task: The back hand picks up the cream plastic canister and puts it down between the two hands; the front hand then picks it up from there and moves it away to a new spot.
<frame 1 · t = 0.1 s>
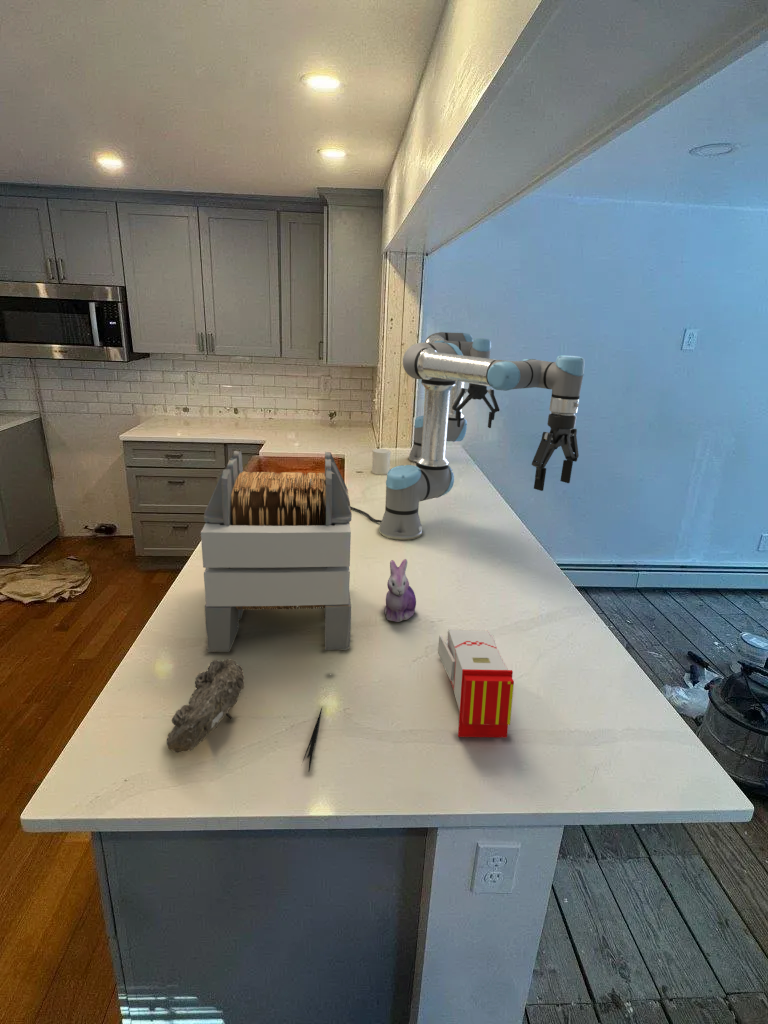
front hand: (552, 485, 166), 28 cm above the counter, tool pointing down, fingers open, 13 cm apart
back hand: (473, 427, 245), 28 cm above the counter, tool pointing down, fingers open, 13 cm apart
feather: (319, 719, 109), on the counter
canister: (380, 472, 274), on the counter
transformer: (283, 615, 144), on the counter
toy: (469, 691, 119), on the counter
figurine: (399, 614, 147), on the counter
fossil: (212, 717, 108), on the counter
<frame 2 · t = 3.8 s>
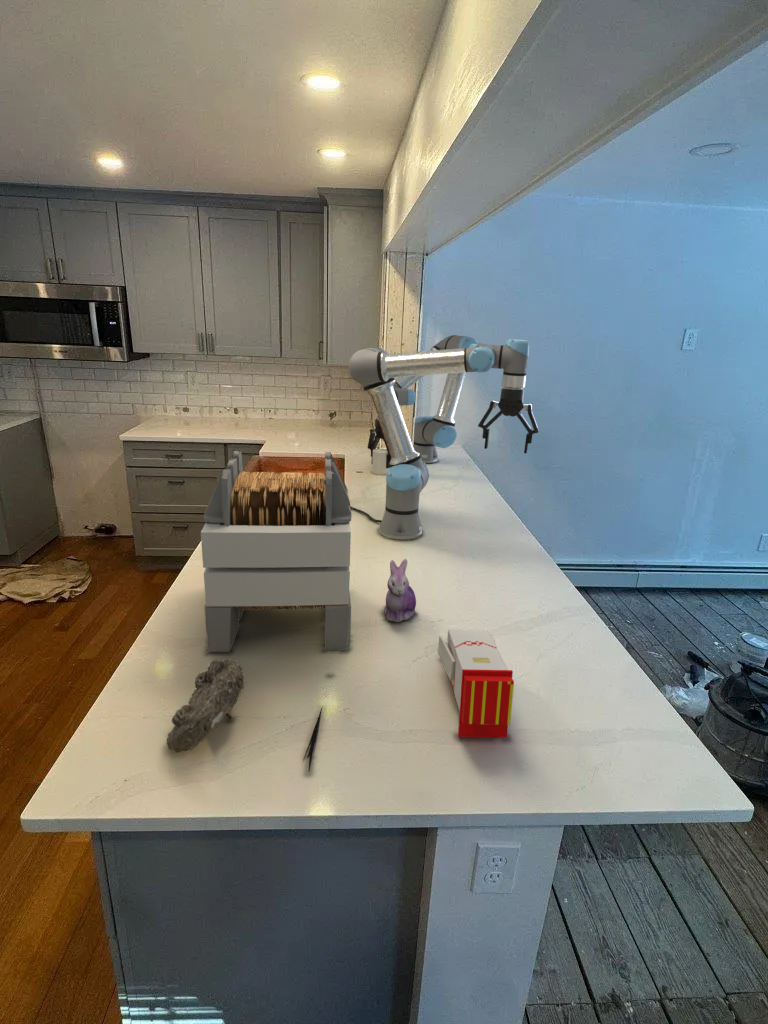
front hand: (505, 450, 196), 30 cm above the counter, tool pointing down, fingers open, 13 cm apart
back hand: (381, 465, 272), 3 cm above the counter, tool pointing down, fingers closed on canister, 8 cm apart
canister: (380, 472, 274), on the counter, touching back hand
everything else where it was.
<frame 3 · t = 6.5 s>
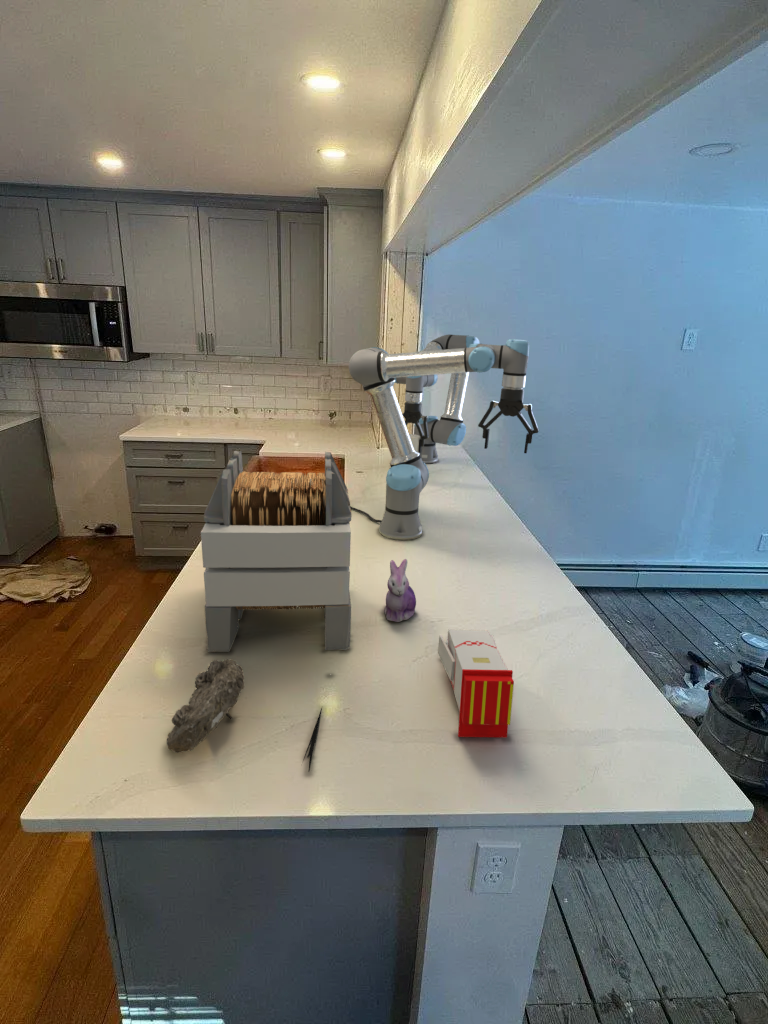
front hand: (505, 450, 196), 30 cm above the counter, tool pointing down, fingers open, 13 cm apart
back hand: (410, 452, 258), 14 cm above the counter, tool pointing down, fingers closed on canister, 8 cm apart
canister: (409, 459, 259), point 10 cm above the counter, touching back hand
everything else where it was.
when the back hand's fingers open (4 cm above the counter, at t = 9.5 s): canister drops 1 cm, on the counter.
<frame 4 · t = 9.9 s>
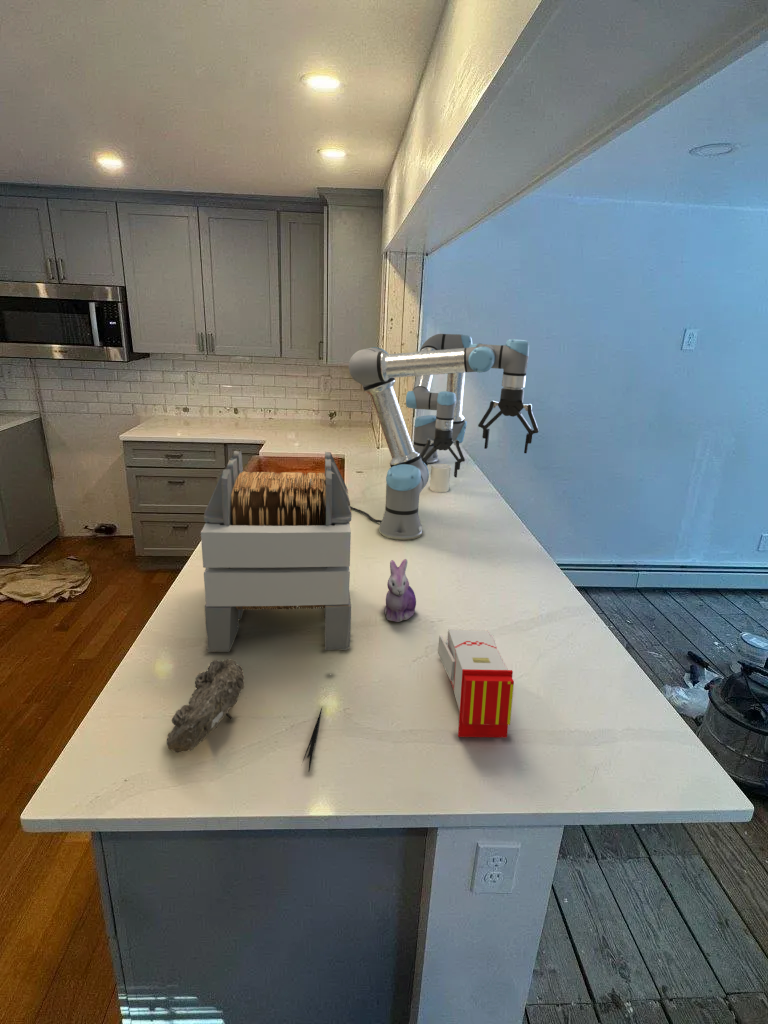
front hand: (505, 450, 196), 30 cm above the counter, tool pointing down, fingers open, 13 cm apart
back hand: (440, 476, 250), 6 cm above the counter, tool pointing down, fingers open, 13 cm apart
canister: (439, 489, 252), on the counter
everything else where it was.
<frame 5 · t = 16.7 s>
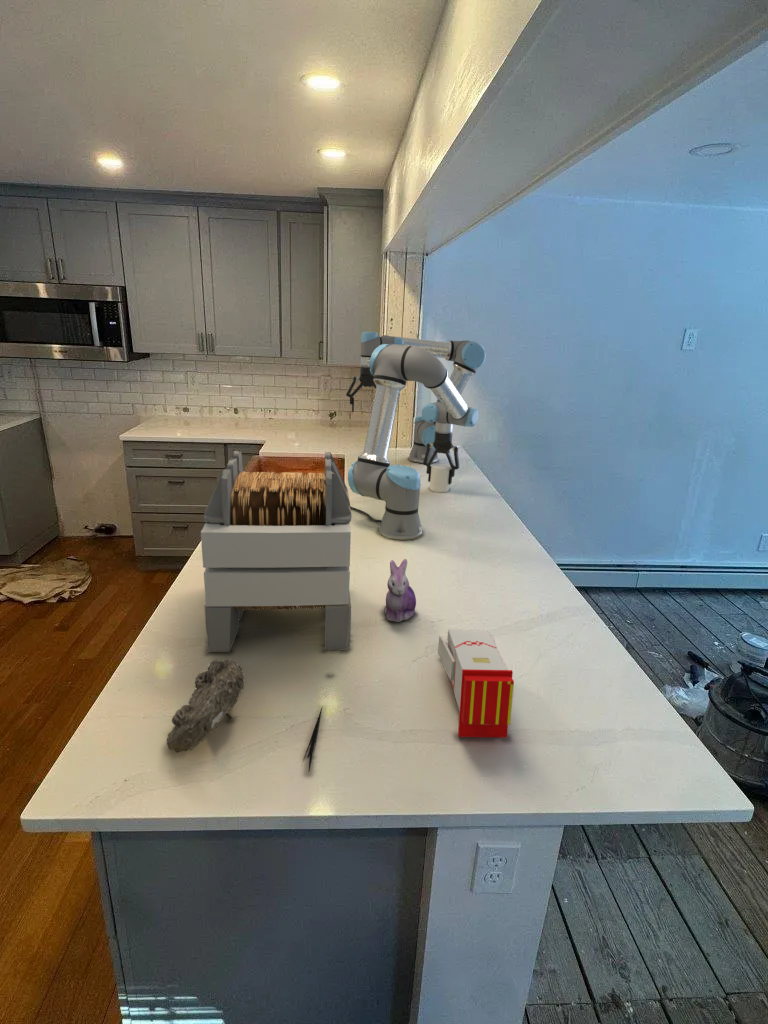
front hand: (439, 482, 251), 3 cm above the counter, tool pointing down, fingers closed on canister, 8 cm apart
back hand: (367, 411, 272), 27 cm above the counter, tool pointing down, fingers open, 13 cm apart
canister: (439, 489, 252), on the counter, touching front hand
everything else where it was.
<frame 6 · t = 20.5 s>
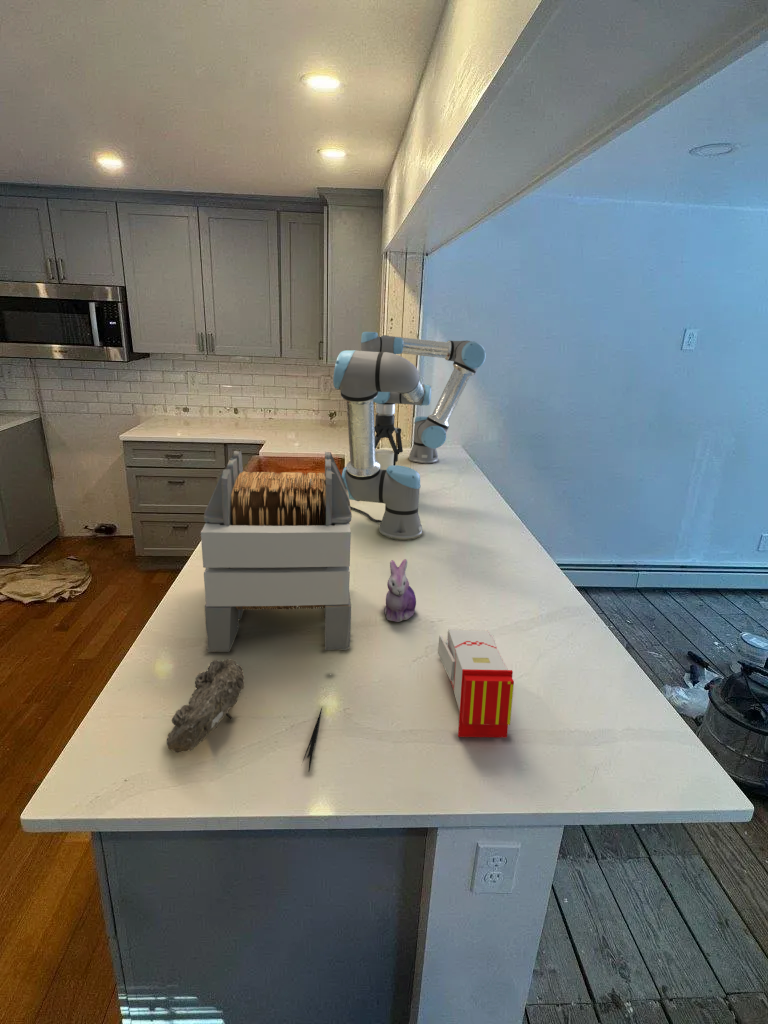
front hand: (382, 469, 230), 13 cm above the counter, tool pointing down, fingers closed on canister, 8 cm apart
back hand: (367, 411, 272), 27 cm above the counter, tool pointing down, fingers open, 13 cm apart
canister: (382, 477, 231), point 10 cm above the counter, touching front hand
everything else where it was.
when the front hand's fingers open (4 cm above the counter, at t = 24.3 s): canister drops 1 cm, on the counter.
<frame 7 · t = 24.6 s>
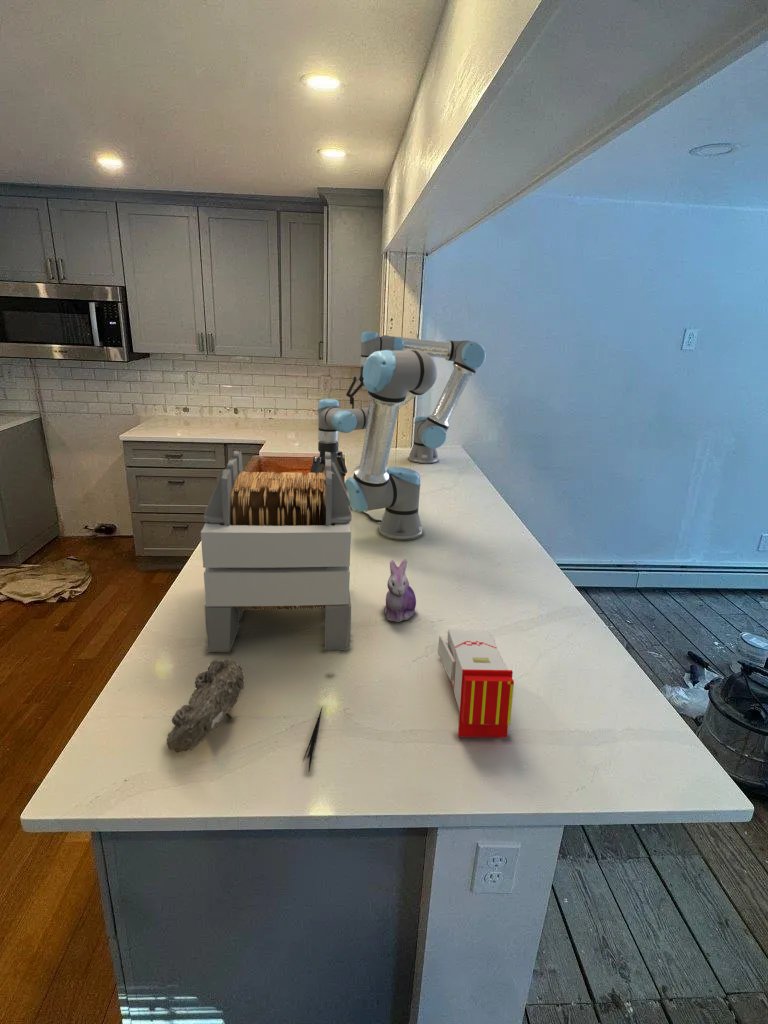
front hand: (327, 495, 219), 6 cm above the counter, tool pointing down, fingers open, 13 cm apart
back hand: (367, 411, 272), 27 cm above the counter, tool pointing down, fingers open, 13 cm apart
canister: (327, 509, 221), on the counter
everything else where it was.
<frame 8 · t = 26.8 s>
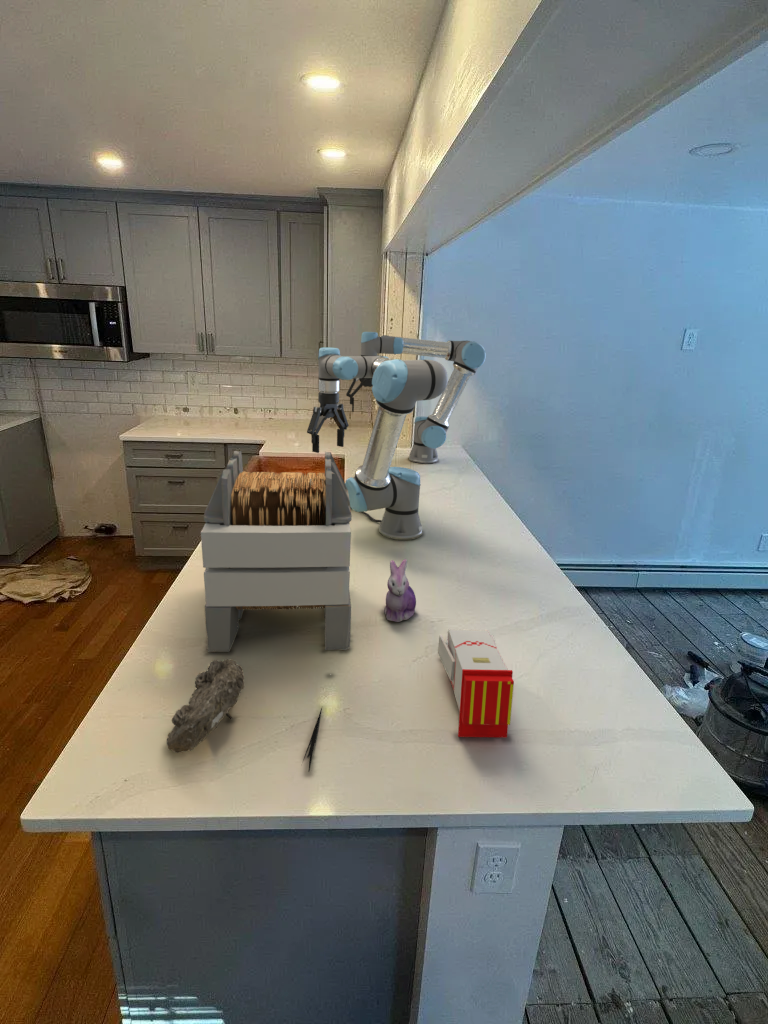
front hand: (328, 449, 213), 24 cm above the counter, tool pointing down, fingers open, 13 cm apart
back hand: (367, 411, 272), 27 cm above the counter, tool pointing down, fingers open, 13 cm apart
nothing on the counter moved.
at the end: canister inside the target area (0.0 cm from its centre), on the counter; canister tilted 0°; the two hands never held the canister at the same time; the front hand is holding nothing; the back hand is holding nothing; canister at rest at the end (0.0 cm/s) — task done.
